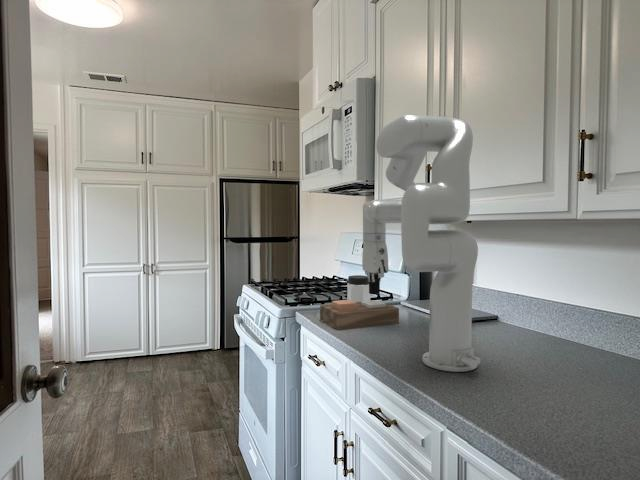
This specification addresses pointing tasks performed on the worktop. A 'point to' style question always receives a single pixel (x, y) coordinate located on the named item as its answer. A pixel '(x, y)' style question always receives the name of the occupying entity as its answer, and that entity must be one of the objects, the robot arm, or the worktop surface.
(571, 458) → the worktop surface
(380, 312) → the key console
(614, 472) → the worktop surface
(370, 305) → the offwhite key
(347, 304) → the terracotta key
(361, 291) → the jar
